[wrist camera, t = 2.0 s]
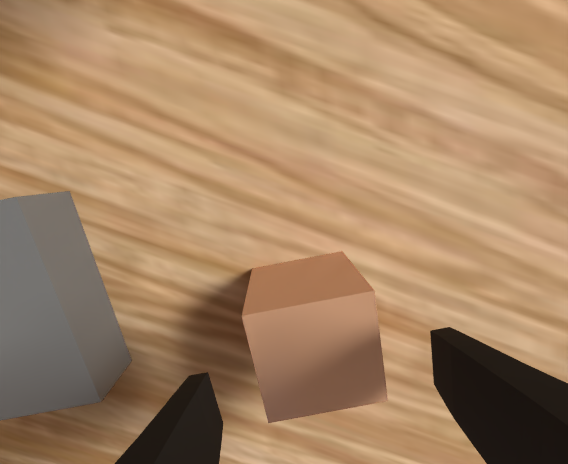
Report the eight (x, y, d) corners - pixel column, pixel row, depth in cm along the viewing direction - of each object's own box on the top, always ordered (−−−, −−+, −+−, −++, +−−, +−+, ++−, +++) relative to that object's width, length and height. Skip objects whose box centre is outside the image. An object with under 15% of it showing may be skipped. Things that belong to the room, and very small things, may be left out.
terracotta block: (353, 330, 14) (387, 401, 10) (270, 346, 15) (268, 423, 10) (342, 250, 13) (374, 290, 9) (252, 268, 13) (241, 316, 9)
